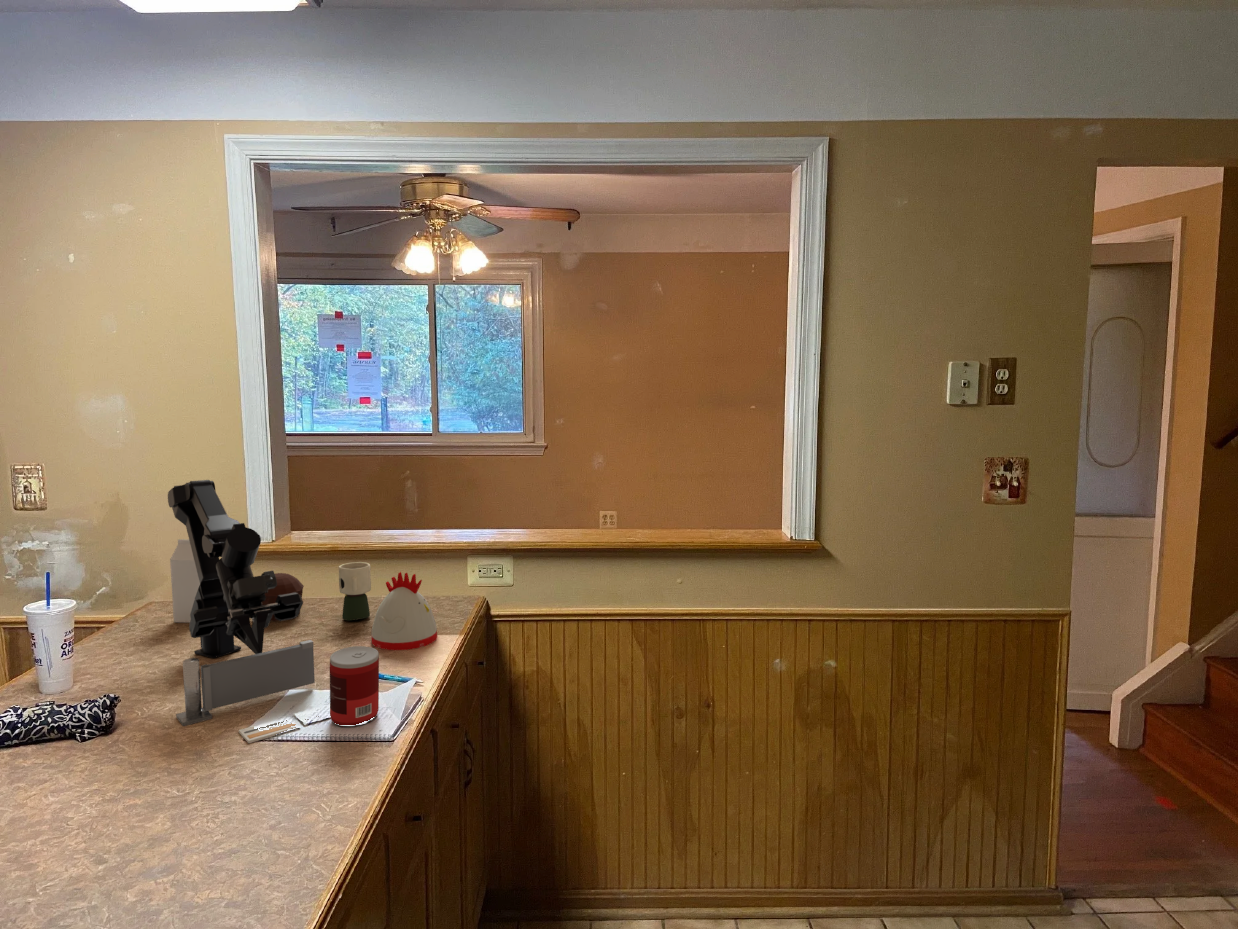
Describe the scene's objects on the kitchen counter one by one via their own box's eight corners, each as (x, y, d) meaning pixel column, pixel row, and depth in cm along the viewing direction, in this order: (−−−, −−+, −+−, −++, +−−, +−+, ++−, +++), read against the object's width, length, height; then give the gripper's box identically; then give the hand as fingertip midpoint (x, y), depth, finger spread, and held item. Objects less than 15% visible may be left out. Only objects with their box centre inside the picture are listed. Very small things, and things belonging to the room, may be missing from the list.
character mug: (341, 613, 189) (339, 561, 188) (372, 611, 191) (370, 559, 190) (338, 627, 179) (337, 572, 177) (371, 624, 181) (369, 570, 179)
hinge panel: (205, 711, 131) (203, 666, 130) (202, 708, 133) (200, 663, 132) (315, 683, 143) (313, 642, 143) (311, 680, 145) (310, 639, 144)
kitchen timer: (419, 652, 163) (417, 582, 161) (359, 647, 166) (357, 579, 164) (447, 631, 176) (445, 566, 175) (391, 627, 179) (389, 563, 177)
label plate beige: (289, 718, 131) (289, 715, 131) (300, 728, 127) (300, 725, 127) (238, 732, 126) (238, 729, 126) (248, 743, 122) (248, 740, 122)
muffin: (258, 610, 191) (256, 570, 190) (306, 606, 194) (304, 567, 193) (250, 625, 180) (248, 583, 179) (302, 621, 183) (300, 579, 182)
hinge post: (182, 726, 128) (179, 667, 127) (176, 717, 131) (172, 660, 130) (212, 718, 131) (209, 661, 130) (204, 710, 134) (201, 654, 133)
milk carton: (203, 623, 181) (199, 543, 179) (173, 623, 181) (168, 542, 179) (219, 614, 188) (216, 536, 186) (190, 613, 188) (186, 536, 186)
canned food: (385, 707, 135) (386, 647, 133) (366, 730, 127) (366, 666, 125) (343, 703, 136) (343, 643, 134) (321, 725, 128) (320, 662, 126)
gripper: (189, 566, 137) (210, 643, 130) (297, 551, 149) (321, 620, 143) (180, 600, 144) (200, 675, 137) (284, 583, 156) (307, 650, 149)
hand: (259, 654), depth 141 cm, fingers closed
